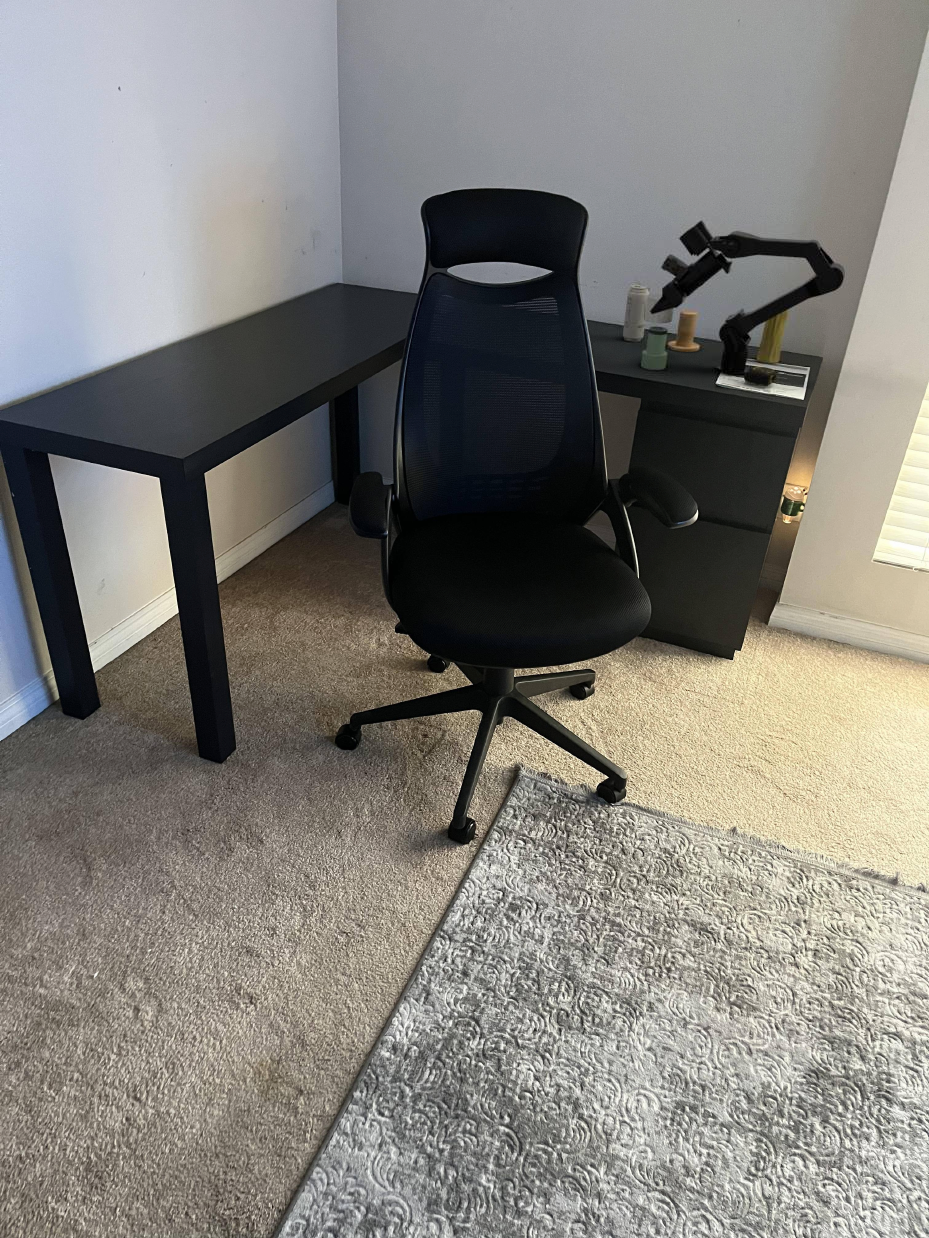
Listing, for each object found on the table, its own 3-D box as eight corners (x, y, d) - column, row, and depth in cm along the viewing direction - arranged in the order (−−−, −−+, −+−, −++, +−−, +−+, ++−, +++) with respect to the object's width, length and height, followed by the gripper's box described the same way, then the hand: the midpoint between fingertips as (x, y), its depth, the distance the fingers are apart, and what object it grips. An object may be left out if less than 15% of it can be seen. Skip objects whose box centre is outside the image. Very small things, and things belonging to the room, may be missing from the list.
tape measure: (741, 384, 227) (744, 369, 225) (752, 378, 231) (755, 364, 229) (766, 390, 223) (769, 375, 221) (777, 384, 228) (780, 369, 226)
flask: (670, 369, 237) (675, 331, 231) (648, 371, 235) (653, 333, 229) (657, 362, 242) (662, 325, 236) (636, 364, 240) (641, 326, 234)
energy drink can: (641, 343, 258) (648, 289, 250) (620, 340, 260) (627, 287, 252) (644, 338, 263) (651, 285, 255) (624, 335, 264) (630, 283, 256)
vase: (774, 365, 242) (785, 311, 234) (752, 360, 245) (763, 308, 238) (782, 360, 246) (793, 307, 239) (761, 356, 249) (771, 304, 242)
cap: (674, 318, 239) (677, 295, 236) (668, 324, 233) (671, 301, 230) (647, 315, 241) (650, 292, 238) (641, 321, 236) (644, 298, 232)
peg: (705, 350, 253) (711, 315, 247) (678, 353, 250) (684, 317, 245) (688, 342, 260) (693, 307, 254) (661, 344, 257) (666, 309, 252)
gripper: (690, 239, 233) (644, 279, 242) (676, 250, 218) (627, 292, 228) (715, 274, 235) (668, 311, 244) (702, 287, 220) (653, 326, 230)
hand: (654, 309), depth 236 cm, fingers closed on cap, 7 cm apart
